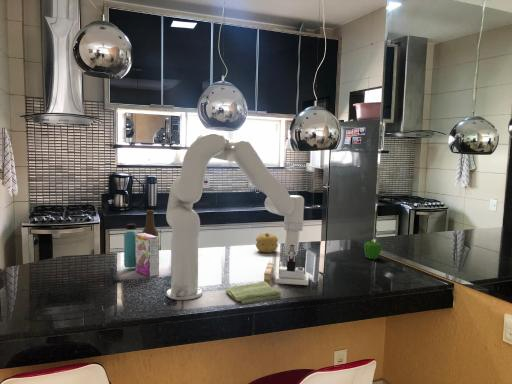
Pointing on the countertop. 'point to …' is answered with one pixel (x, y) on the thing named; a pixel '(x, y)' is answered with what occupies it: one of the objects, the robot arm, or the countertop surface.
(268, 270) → the rail
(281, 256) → the countertop surface
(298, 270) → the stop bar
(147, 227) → the beer bottle
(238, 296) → the washcloth
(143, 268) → the candy bar box
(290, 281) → the bracket
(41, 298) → the countertop surface
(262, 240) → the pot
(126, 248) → the beverage bottle
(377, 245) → the bell pepper
